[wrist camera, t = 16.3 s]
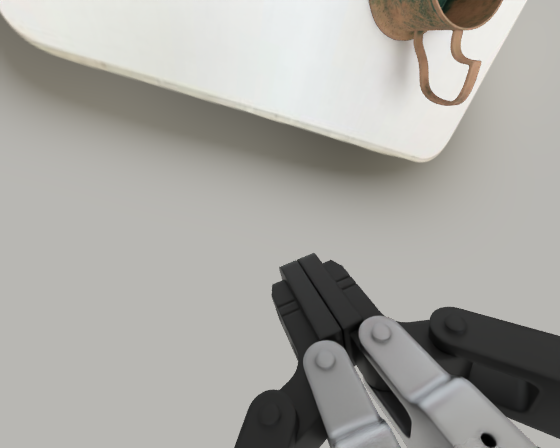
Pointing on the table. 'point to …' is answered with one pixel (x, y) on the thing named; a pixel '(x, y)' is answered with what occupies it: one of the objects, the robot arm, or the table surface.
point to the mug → (434, 16)
